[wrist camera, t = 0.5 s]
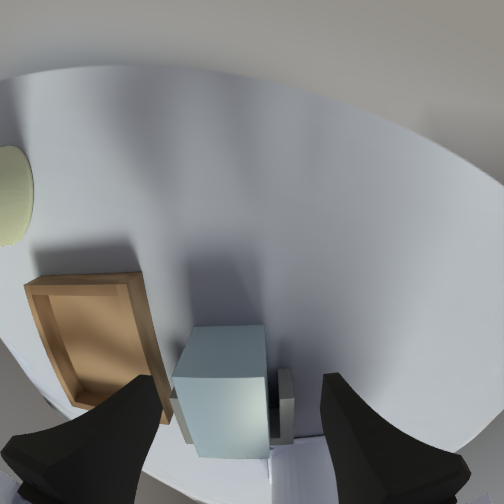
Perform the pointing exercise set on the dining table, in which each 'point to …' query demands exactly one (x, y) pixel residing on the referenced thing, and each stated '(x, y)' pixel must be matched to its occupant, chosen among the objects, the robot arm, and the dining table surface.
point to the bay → (278, 416)
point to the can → (14, 195)
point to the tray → (98, 335)
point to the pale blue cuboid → (225, 391)
